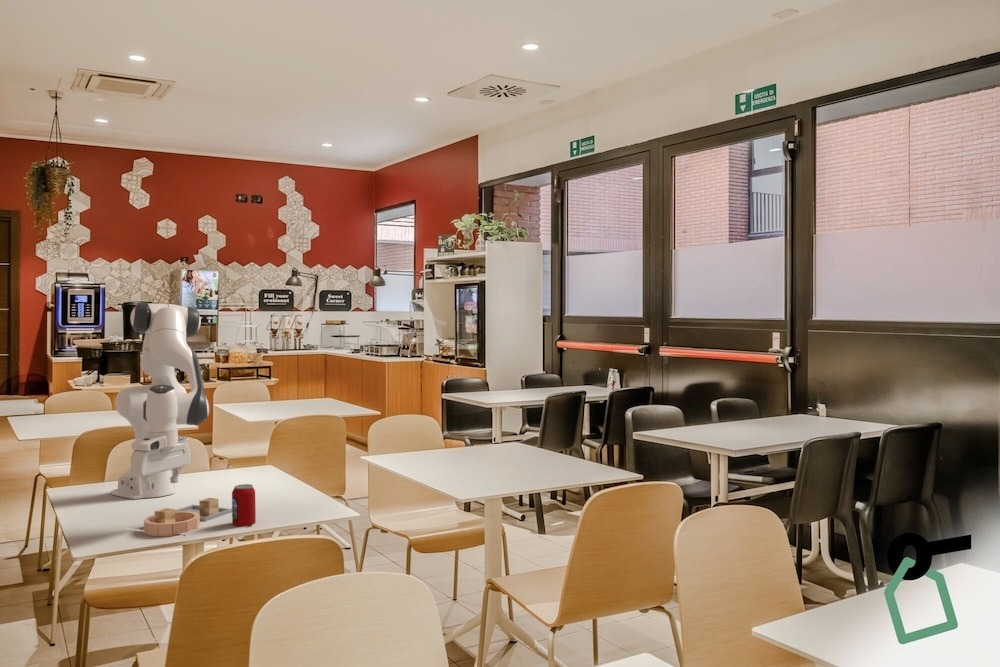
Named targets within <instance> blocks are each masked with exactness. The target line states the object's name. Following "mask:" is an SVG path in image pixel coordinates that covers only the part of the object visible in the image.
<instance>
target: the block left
mask: <svg viewBox="0 0 1000 667" xmlns="http://www.w3.org/2000/svg"><path fill="white" fill-rule="evenodd" d="M175 510H176V509H175V508H168V507H164V508H160V509H157V510H154V515H155V523H174V522H175Z"/></svg>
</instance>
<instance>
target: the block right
mask: <svg viewBox="0 0 1000 667" xmlns="http://www.w3.org/2000/svg"><path fill="white" fill-rule="evenodd" d="M198 503H199V510H200V516H202V517H207V516H210V515H213V514H216V513H219V508H220V507H219V498H216V497H206V498H203V499H200V500H199V502H198ZM218 507H219V508H218Z"/></svg>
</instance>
